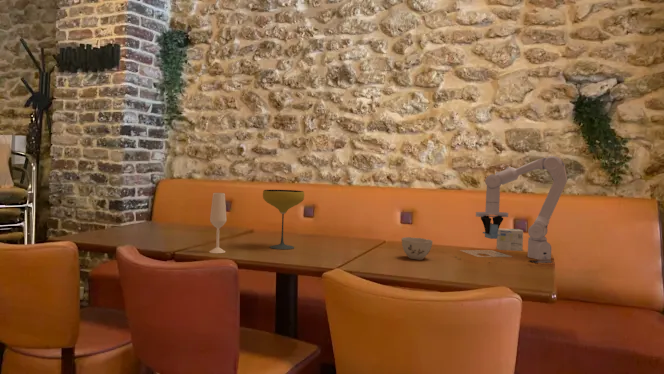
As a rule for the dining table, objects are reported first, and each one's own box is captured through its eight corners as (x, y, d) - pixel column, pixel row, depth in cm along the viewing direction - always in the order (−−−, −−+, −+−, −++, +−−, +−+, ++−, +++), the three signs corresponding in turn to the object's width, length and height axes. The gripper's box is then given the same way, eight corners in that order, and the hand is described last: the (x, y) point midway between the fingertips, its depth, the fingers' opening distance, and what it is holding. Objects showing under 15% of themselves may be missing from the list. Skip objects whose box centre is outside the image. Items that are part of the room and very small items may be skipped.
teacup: (427, 262, 212) (427, 242, 211) (396, 259, 217) (397, 239, 217) (436, 257, 225) (437, 238, 225) (407, 254, 231) (408, 235, 230)
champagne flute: (227, 250, 222) (229, 193, 221) (223, 253, 216) (224, 193, 215) (212, 250, 223) (213, 192, 222) (206, 252, 216) (208, 193, 215)
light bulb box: (519, 252, 248) (520, 228, 247) (522, 254, 241) (524, 230, 241) (495, 250, 249) (496, 227, 249) (498, 253, 242) (499, 229, 242)
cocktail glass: (256, 245, 241) (257, 189, 240) (293, 243, 248) (295, 189, 247) (268, 251, 224) (270, 191, 223) (308, 250, 232) (310, 192, 231)
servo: (499, 239, 230) (500, 224, 230) (493, 239, 229) (493, 224, 229) (489, 236, 239) (489, 221, 238) (482, 236, 238) (483, 221, 238)
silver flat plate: (513, 260, 224) (513, 256, 224) (477, 260, 220) (478, 256, 220) (491, 253, 240) (492, 250, 240) (459, 253, 237) (459, 250, 237)
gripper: (502, 201, 239) (501, 232, 239) (472, 201, 235) (471, 232, 236) (511, 203, 232) (510, 234, 232) (480, 202, 229) (479, 234, 229)
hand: (491, 233), depth 234 cm, fingers closed on servo, 3 cm apart
